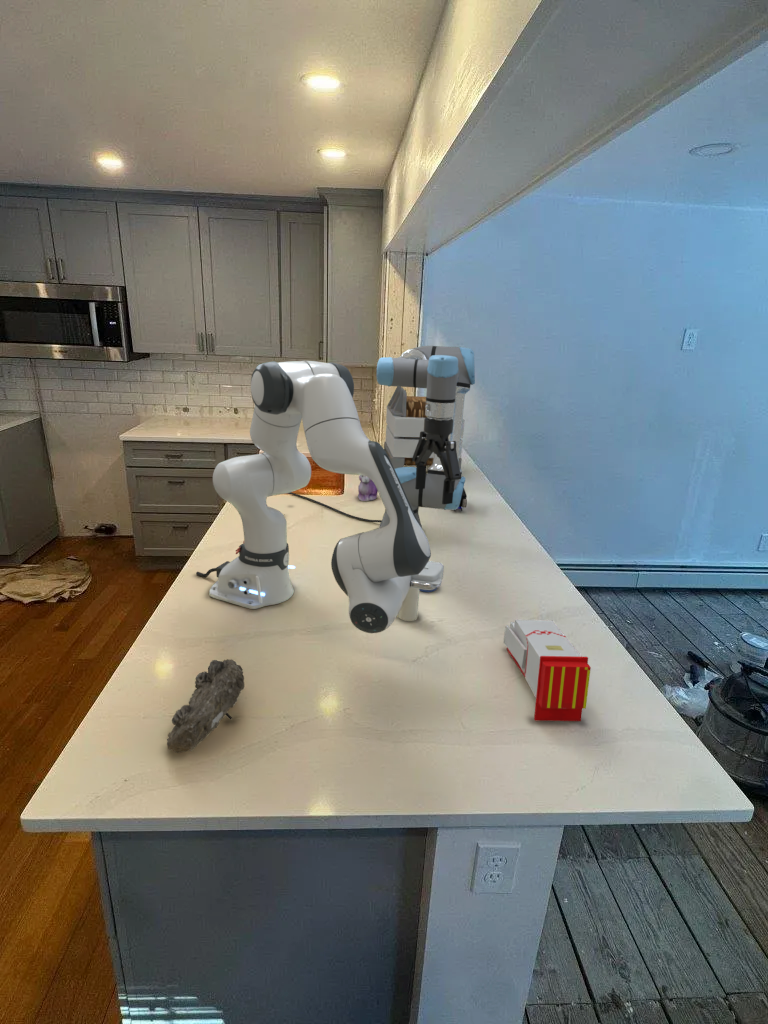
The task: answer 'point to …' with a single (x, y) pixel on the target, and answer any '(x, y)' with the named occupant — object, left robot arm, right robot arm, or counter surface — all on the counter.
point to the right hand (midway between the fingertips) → (433, 495)
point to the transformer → (406, 428)
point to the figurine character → (463, 500)
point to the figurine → (366, 489)
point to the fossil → (206, 705)
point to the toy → (549, 668)
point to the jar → (410, 606)
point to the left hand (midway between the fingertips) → (403, 555)
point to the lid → (427, 590)
